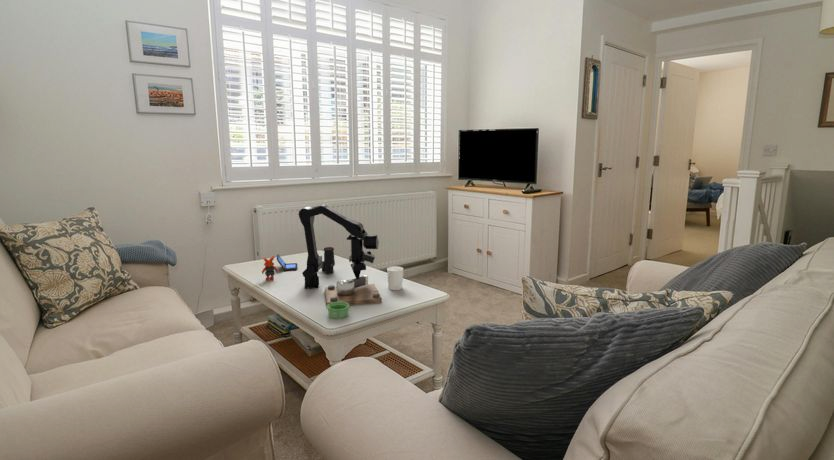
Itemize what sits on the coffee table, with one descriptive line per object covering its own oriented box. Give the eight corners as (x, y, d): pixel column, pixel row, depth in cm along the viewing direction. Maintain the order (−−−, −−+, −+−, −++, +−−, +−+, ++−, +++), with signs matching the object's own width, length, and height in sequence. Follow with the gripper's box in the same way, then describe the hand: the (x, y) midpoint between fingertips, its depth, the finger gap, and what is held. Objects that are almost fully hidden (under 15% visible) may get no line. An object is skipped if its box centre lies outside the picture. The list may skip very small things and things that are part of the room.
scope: (331, 245, 251) (338, 248, 242) (332, 268, 253) (339, 273, 245) (317, 246, 246) (324, 250, 238) (318, 271, 249) (325, 275, 241)
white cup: (397, 291, 217) (397, 271, 215) (384, 288, 221) (383, 269, 219) (406, 287, 223) (406, 267, 221) (393, 284, 228) (393, 265, 226)
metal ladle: (344, 296, 202) (344, 284, 201) (333, 292, 208) (332, 281, 206) (372, 287, 215) (372, 276, 214) (361, 283, 220) (360, 272, 219)
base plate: (327, 307, 197) (327, 300, 196) (324, 291, 217) (324, 285, 216) (381, 302, 203) (381, 295, 202) (374, 287, 223) (374, 281, 222)
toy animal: (274, 276, 239) (273, 254, 237) (278, 279, 235) (277, 256, 233) (259, 279, 235) (258, 256, 232) (263, 281, 230) (261, 259, 228)
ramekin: (333, 321, 182) (333, 311, 181) (324, 314, 189) (323, 304, 188) (353, 316, 187) (353, 306, 187) (343, 309, 195) (343, 300, 194)
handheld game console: (297, 270, 250) (296, 257, 249) (277, 272, 248) (276, 259, 246) (297, 264, 262) (296, 252, 261) (278, 265, 260) (277, 253, 258)
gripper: (376, 252, 211) (377, 284, 214) (370, 243, 228) (371, 272, 231) (352, 253, 208) (353, 286, 211) (348, 244, 226) (349, 274, 229)
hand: (357, 279), depth 221 cm, fingers closed
